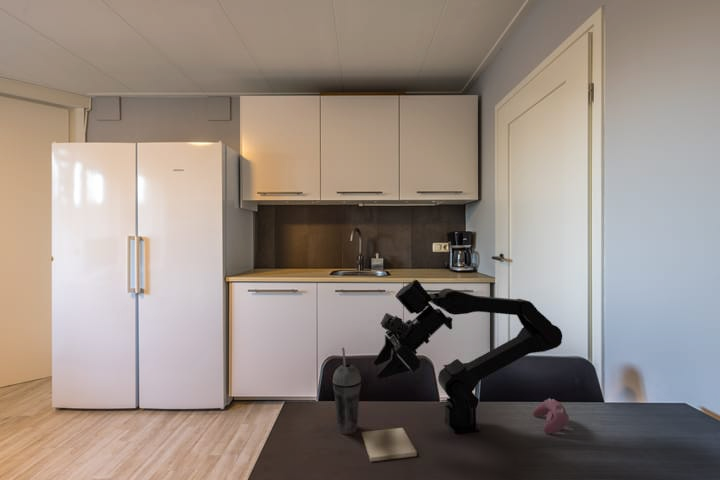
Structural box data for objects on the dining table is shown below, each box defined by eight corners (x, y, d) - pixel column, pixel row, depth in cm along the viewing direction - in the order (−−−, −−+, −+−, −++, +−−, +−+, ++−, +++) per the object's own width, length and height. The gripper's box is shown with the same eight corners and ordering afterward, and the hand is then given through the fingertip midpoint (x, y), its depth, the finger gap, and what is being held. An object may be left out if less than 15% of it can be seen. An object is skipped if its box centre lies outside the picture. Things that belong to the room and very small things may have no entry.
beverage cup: (368, 428, 83) (367, 346, 83) (347, 441, 77) (346, 353, 78) (347, 418, 88) (346, 341, 88) (326, 429, 82) (325, 347, 83)
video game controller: (561, 443, 78) (576, 417, 78) (542, 432, 79) (556, 406, 79) (547, 422, 88) (559, 398, 88) (530, 412, 89) (542, 389, 88)
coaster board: (402, 431, 81) (402, 427, 81) (416, 455, 71) (416, 452, 71) (361, 435, 79) (361, 432, 79) (370, 461, 70) (370, 457, 70)
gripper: (395, 298, 93) (353, 336, 92) (408, 309, 74) (355, 358, 73) (422, 328, 93) (380, 366, 92) (441, 347, 74) (389, 396, 74)
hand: (376, 370), depth 83 cm, fingers open, 9 cm apart
